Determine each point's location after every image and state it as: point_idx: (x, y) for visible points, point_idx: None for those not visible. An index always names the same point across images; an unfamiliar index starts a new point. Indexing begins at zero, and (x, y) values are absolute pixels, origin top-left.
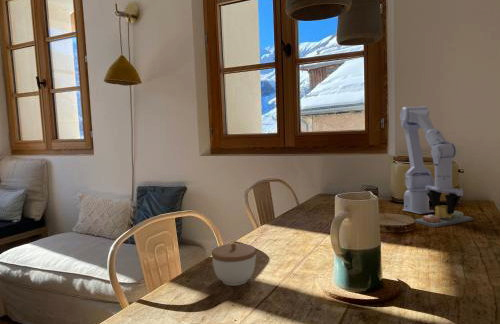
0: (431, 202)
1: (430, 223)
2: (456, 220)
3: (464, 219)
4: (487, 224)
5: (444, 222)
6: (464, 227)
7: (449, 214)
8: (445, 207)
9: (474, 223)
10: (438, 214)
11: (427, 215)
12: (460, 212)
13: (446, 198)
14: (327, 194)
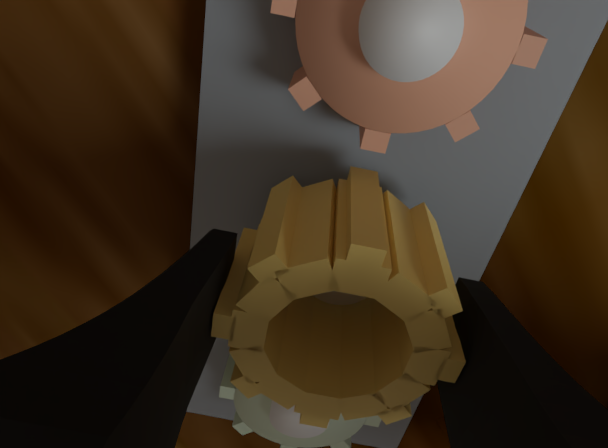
0: (561, 371)
1: None
2: (193, 240)
3: None
4: (28, 336)
5: (214, 49)
6: (34, 111)
7: (238, 251)
8: (342, 378)
9: (104, 309)
10: (359, 183)
11: (497, 69)
12: (264, 428)
13: (116, 394)
14: None
